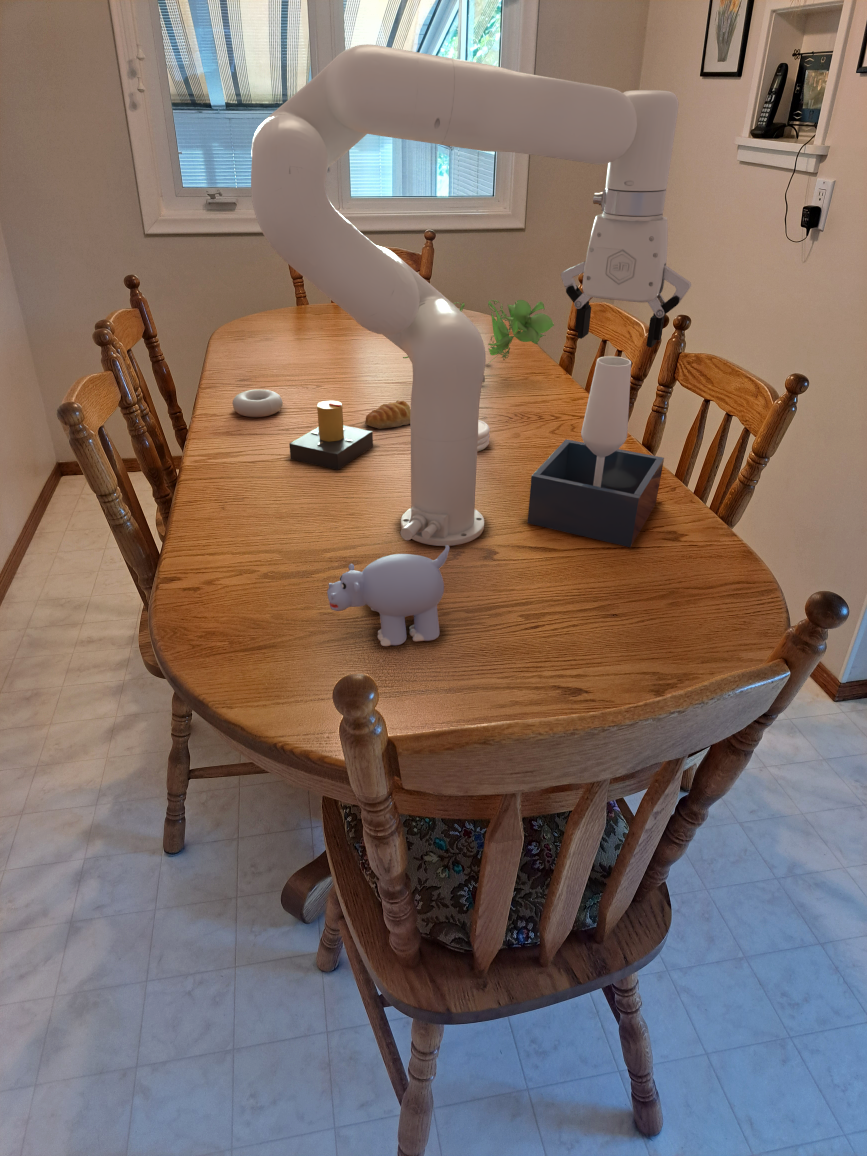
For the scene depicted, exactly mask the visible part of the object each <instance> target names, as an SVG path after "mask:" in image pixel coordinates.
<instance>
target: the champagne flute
mask: <svg viewBox="0 0 867 1156" xmlns="http://www.w3.org/2000/svg"><path fill="white" fill-rule="evenodd" d="M631 372H632V361H631V360H630V359H628V358H627V357H621V356H616V355H606V356H600V357H598V358H596V362H595V368H594V372H593V377H592V382H591V386H590V390H589V395H588V399H587V404H586V407H585V413H584V417H583V418H584V419H583V422H582V426H581V431H580V434H581V435H580V436H581V439H582V442H583V443H585V445H586V446H587V447H588V448H589V449H590V450H591V451H592V453H593V454H595V455H596V456H597V460H596V468H595V475H594V483H593V486H597V487H601V481H602V474H603V467H604V460H605V457H606V456H608V455H610V454H612V453H613V452H615V451H616V450H618V449H621V447H622V446H623V445H624V444H625V443H626V441H627V439H628V431H629V430H628V428H629V414H630V413H629V411H630V395H631V394H630V392H631V391H630V390H631V375H632V373H631Z"/></svg>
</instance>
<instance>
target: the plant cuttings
mask: <svg viewBox="0 0 867 1156" xmlns="http://www.w3.org/2000/svg"><path fill="white" fill-rule="evenodd" d="M492 302H493V303H492ZM452 303H453V304H454V305H456V304H460V307H459V310H460V311H461V312H463V310H464V308H465V307H466V304H465V302H462V303H461V302H458V301H456V302H452ZM499 303H500V301H499V300H498V299H490V300H488V303H487V304H488V308H489V309H490V310H491V311H492V312H494V313H495V315H496V318H495V316H494V314H493V313H492V312H491V311H490V312H491V313H490V314H491V324H492V331H493V332H492V333H493V335H491V336H490V340H489V341H490V342H488V344H487V346H490V348H489V347H488V348H487V349H488V351H489V355H490V356H495V357H494V358H493V359H492V360H491V361H489V363H488V364H486V365H489V364H490V363H491V362H493V361H494V360H495V359H496V358H497V357H498V356H499V355H501V358H502V361H505V360H506V359H508V358H509V355H510V351H511V347H510V345H511V344H512V343H513V339H514V338H515V339H517V340H518V341H519V342H522V343H530V342H531V343H532V344H535V345H539V341H540V340H541V338H543V337H545V336H546V334H544V333H546V332H548V331H549V330H550V329H552V328H553V327H554V326H555V324H554V322H553V320H552V318H551V317H550V316H549V315H547V314H545V313H542V312H541V313H536V314H534V313H535V312H537V311H540V310H543V311H545V304H544V302H543V301H540V300H539V301H538V302H537V303H536V304H535V306H533V308H532V307H531V305H530V303H529V302H528V301H526V300H525V299H517V300H516V301H514V304H507V308H508V312H509V315H510V316H508V315H507V313H506V312H505V311H504V306H503V303H500V306H499V309H500V310H498V309H497V308H496V307H495V305H497V304H499ZM500 312H501V314H500ZM532 314H534V315H532ZM531 315H532V316H531ZM506 321H508V327H509V328H508V327H507V325H506V323H505V322H506ZM510 332H512V335H510ZM493 337H494V340H493ZM402 358H403V359H409V357H408V355H406V356H402ZM484 383H486V376H485V375H484V377H483V382H482V385H483V384H484Z"/></svg>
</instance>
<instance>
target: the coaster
mask: <svg viewBox="0 0 867 1156" xmlns="http://www.w3.org/2000/svg"><path fill="white" fill-rule="evenodd" d="M490 431H491V428H490V425H489V424H488V423H487V422H485V421H483V420H481V419H478V445H477V452H481V451H483V450H484V449H486V448H487V447H488V446H489V444H490Z"/></svg>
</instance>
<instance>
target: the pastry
mask: <svg viewBox="0 0 867 1156" xmlns="http://www.w3.org/2000/svg"><path fill="white" fill-rule="evenodd" d="M410 409H411V406H410V404H409V403H408V402H407V401H405V400H396V401H395V402H388V403H382V404H381V405H380V406H379V407H377V408H376V409H373V410H371V411H370V412H369V413H368V414H367V415H366V416H365V420H364V421H365V422H364V423H365V425H367V426H369V427H372V428H375V429H378V430H379V429H381V430H383V429H391V428H398V427H401V426H408V425H409V424H410Z"/></svg>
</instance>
